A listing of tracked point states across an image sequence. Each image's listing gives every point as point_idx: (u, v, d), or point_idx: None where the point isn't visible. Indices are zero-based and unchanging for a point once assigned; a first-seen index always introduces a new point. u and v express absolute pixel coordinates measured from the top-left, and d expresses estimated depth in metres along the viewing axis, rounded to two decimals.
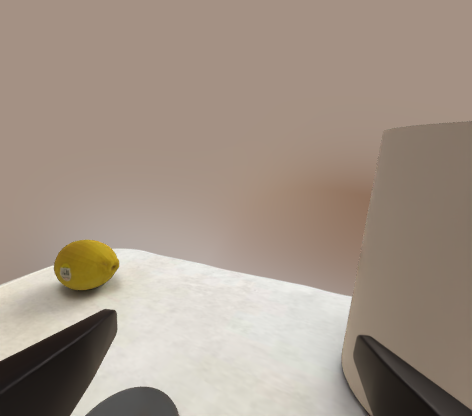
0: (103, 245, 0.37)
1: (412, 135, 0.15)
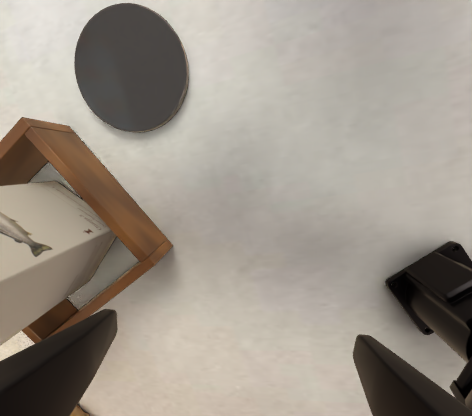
0: None
1: None
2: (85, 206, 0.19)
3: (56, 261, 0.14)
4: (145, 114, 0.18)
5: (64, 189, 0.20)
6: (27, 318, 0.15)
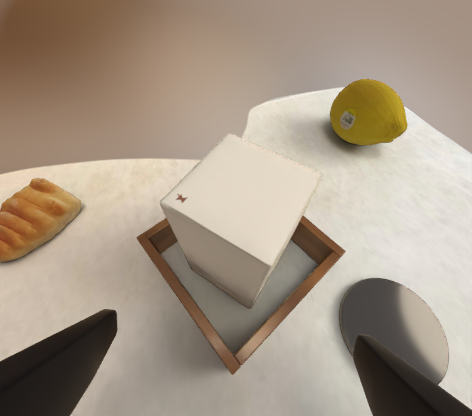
0: (399, 98, 0.28)
1: None
2: None
3: (252, 290, 0.15)
4: None
5: None
6: (192, 252, 0.17)
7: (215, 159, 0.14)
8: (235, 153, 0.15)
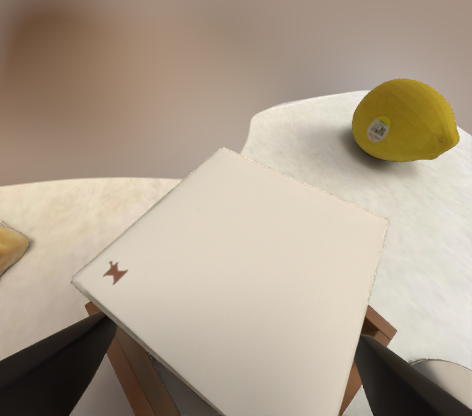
0: (447, 103, 0.21)
1: None
2: None
3: None
4: None
5: None
6: None
7: (194, 190, 0.08)
8: (230, 179, 0.08)
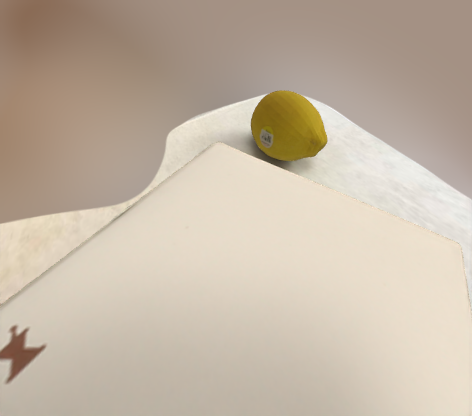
0: (314, 110, 0.25)
1: None
2: None
3: None
4: None
5: None
6: None
7: (179, 197, 0.05)
8: (232, 183, 0.06)
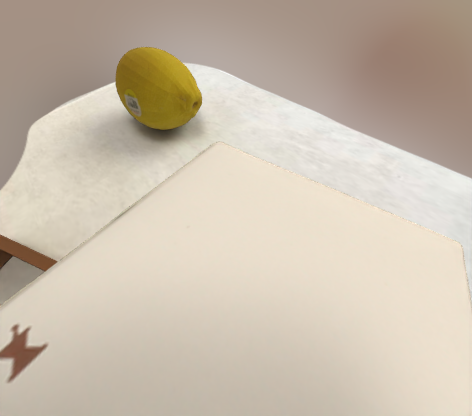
0: (176, 62, 0.22)
1: None
2: None
3: None
4: None
5: None
6: None
7: (180, 197, 0.05)
8: (233, 183, 0.06)
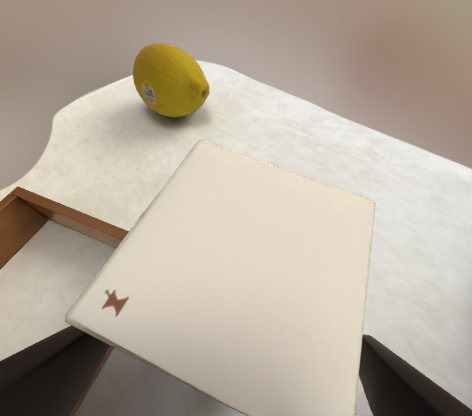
0: (187, 56, 0.25)
1: None
2: None
3: None
4: None
5: None
6: None
7: (181, 195, 0.07)
8: (217, 178, 0.08)
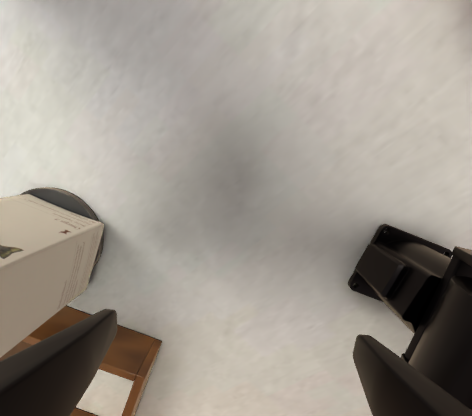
0: None
1: None
2: (62, 211, 0.19)
3: (30, 262, 0.13)
4: None
5: (38, 199, 0.19)
6: (18, 330, 0.14)
7: None
8: None
